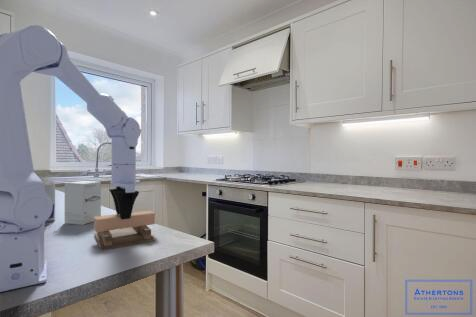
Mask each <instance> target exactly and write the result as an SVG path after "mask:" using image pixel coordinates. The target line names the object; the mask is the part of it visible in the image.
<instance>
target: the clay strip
mask: <svg viewBox="0 0 476 317" xmlns="http://www.w3.org/2000/svg"><path fill="white" fill-rule="evenodd" d="M155 224H156V213H155V212H153V211H152V210H144V211H132V214H131V217H130V219H121V217H120V214H117V213H115V214H109V215H107V214H106V215H101V216H96V217H94V221H93V229H94V231H95V233H98V232H103V231H112V230H118V229H125V228H132V227H138V226H151V225H152V226H153V225H155Z"/></svg>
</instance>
